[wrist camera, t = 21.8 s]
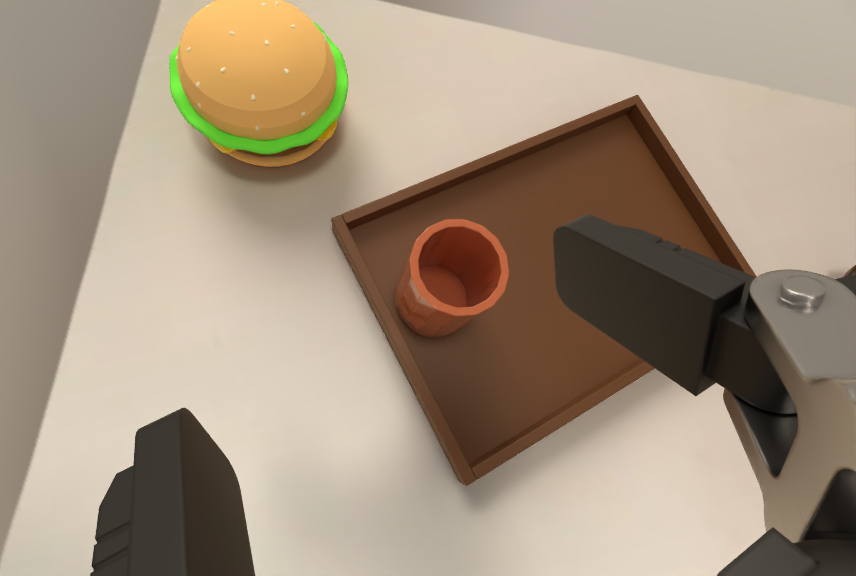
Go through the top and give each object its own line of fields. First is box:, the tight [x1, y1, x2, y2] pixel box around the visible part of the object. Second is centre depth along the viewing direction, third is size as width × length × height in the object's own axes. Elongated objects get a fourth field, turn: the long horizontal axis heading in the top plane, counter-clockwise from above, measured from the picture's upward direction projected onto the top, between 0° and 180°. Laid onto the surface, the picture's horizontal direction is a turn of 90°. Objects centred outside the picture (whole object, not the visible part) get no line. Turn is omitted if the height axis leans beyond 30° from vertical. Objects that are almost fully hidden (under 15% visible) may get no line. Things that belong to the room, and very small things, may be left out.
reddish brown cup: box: [395, 219, 509, 338], centre depth 30 cm, size 6×6×8 cm
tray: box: [332, 95, 756, 486], centre depth 36 cm, size 30×21×2 cm
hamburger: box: [170, 0, 348, 167], centre depth 32 cm, size 12×12×9 cm
